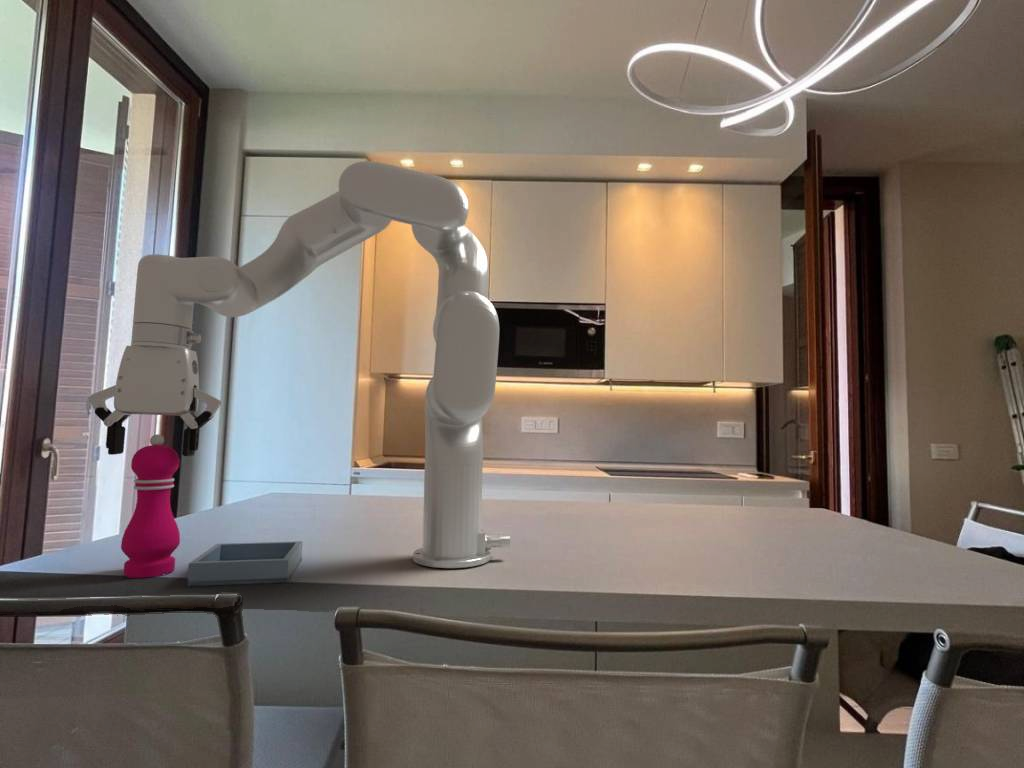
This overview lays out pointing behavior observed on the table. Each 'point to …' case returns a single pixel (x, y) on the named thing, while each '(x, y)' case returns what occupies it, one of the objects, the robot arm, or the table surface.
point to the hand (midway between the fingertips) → (152, 454)
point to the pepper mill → (152, 513)
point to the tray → (245, 563)
